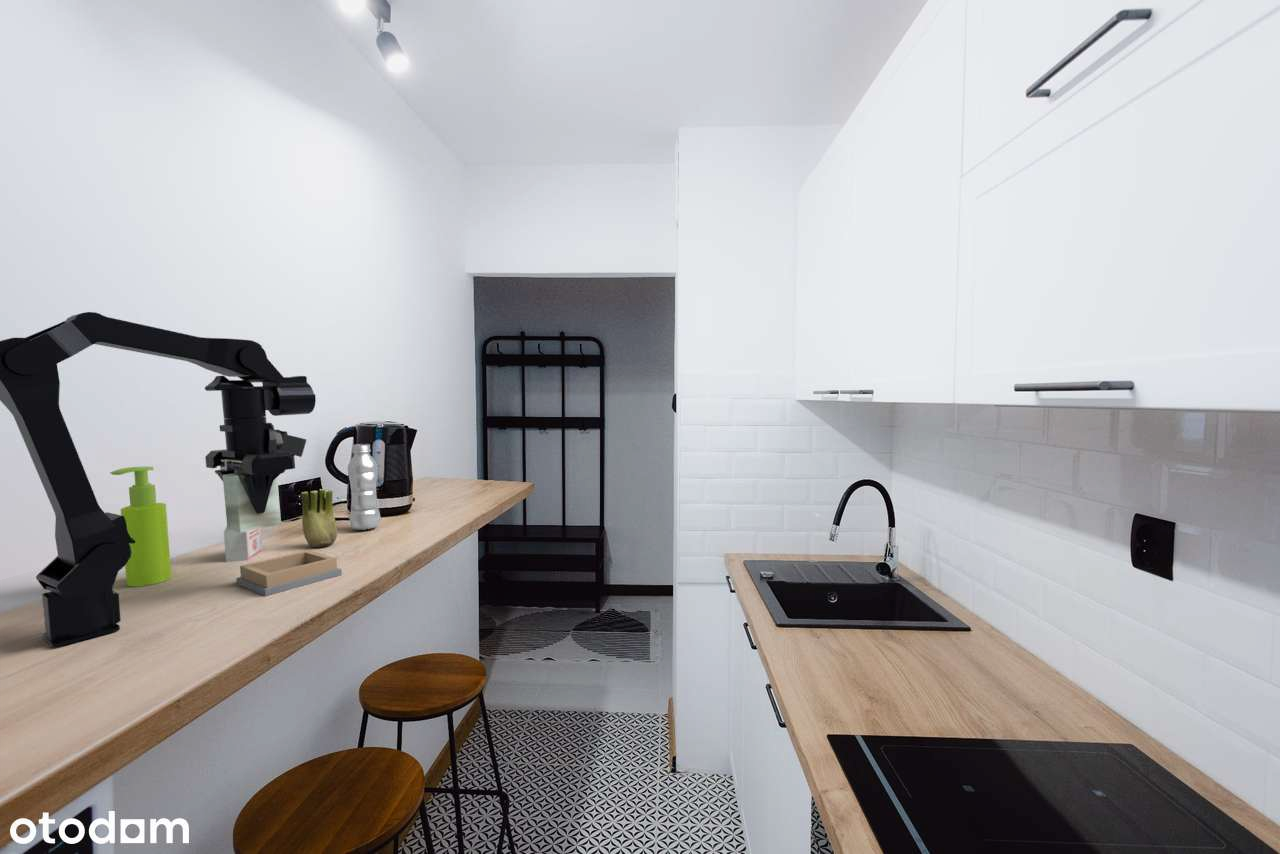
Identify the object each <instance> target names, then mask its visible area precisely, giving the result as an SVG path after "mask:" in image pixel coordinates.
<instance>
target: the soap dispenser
mask: <svg viewBox="0 0 1280 854" xmlns="http://www.w3.org/2000/svg"><path fill="white" fill-rule="evenodd" d="M148 471H154V466H131V467H130V466H129V467H124V468H119V469H115V470H113V471H111V472H109V473H110V474H111V475H113V476H114V475H115V476H116V475H117V476H118V475H124V474H128V473H134V484H133V485H131V486H130V487H128V491H129V492H128V494H129V504H130V505H129V506H125V507H122V508H120V515H122V516H124V517H125V520H126V525H127V531H128V533H129V535H130V537H131V538H132V539H133V540H135V543H129V545H130V546H131V552H132V553H131V558H130V559H129V560H128V562H127V563H126V565H125V566H124V568H125V578H126V579H125V580H126V586H127V587H132V586H136V587H144V585H146V586H149V585H155V584H159V583H164V582H166V581H168V580H170V579H171V578H172V568H171V554H170V553H171V552H170V543H169V529H168V515H167V514H168V513H167V504H166V503H164V502H157V493H156V484H152V483H151V482H150V483H149V475H148Z"/></svg>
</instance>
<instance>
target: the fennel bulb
mask: <svg viewBox="0 0 1280 854" xmlns="http://www.w3.org/2000/svg"><path fill="white" fill-rule="evenodd" d="M309 493H310V494H309ZM318 494H319V495H318ZM309 495H310V497H309ZM333 495H334V494H333V490H329V489H325V488H324V489H323V488H320V489H319V493H318V490H312V491H310V492H308V491H304V492H303V491H302V492H301V493H300V497H301V505H302V509H301V510H302V516H301V517H302V518H301V519H302V532H303V535H304V538H305V540H306V542H307V545H308V546H309V547H313V548H325V547H329V546H331V545H332V544H334V543H335V541H336V540H337V537H338V530H337V522H336V518H335V513H334V510H333Z"/></svg>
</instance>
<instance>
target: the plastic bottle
mask: <svg viewBox="0 0 1280 854" xmlns="http://www.w3.org/2000/svg"><path fill="white" fill-rule="evenodd" d="M371 452H372V451H371V444H369V443H359V444H352V454H353V456H352V458H351V460H350V461H349V462H348V464H347V474H348V480H349V484H350V491H351V492H350V494H351V495H350V496H351V503H350V504H351V505H350V513H349V523H350V527H351V528H352V529H353V530H357V531H367V530H366V529H368V530H371V529H374V528H377V527H378V526H379V524H380V522H381V514H380V513H381V512H380V509H379V505H378V497H377V496H378V495H377V480H378V479H377V477H378V470H379V468H378V467H379V466H378V464H377V461H376V460H375V458H374V457H373V456H372V455H371V454H370V453H371Z"/></svg>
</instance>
